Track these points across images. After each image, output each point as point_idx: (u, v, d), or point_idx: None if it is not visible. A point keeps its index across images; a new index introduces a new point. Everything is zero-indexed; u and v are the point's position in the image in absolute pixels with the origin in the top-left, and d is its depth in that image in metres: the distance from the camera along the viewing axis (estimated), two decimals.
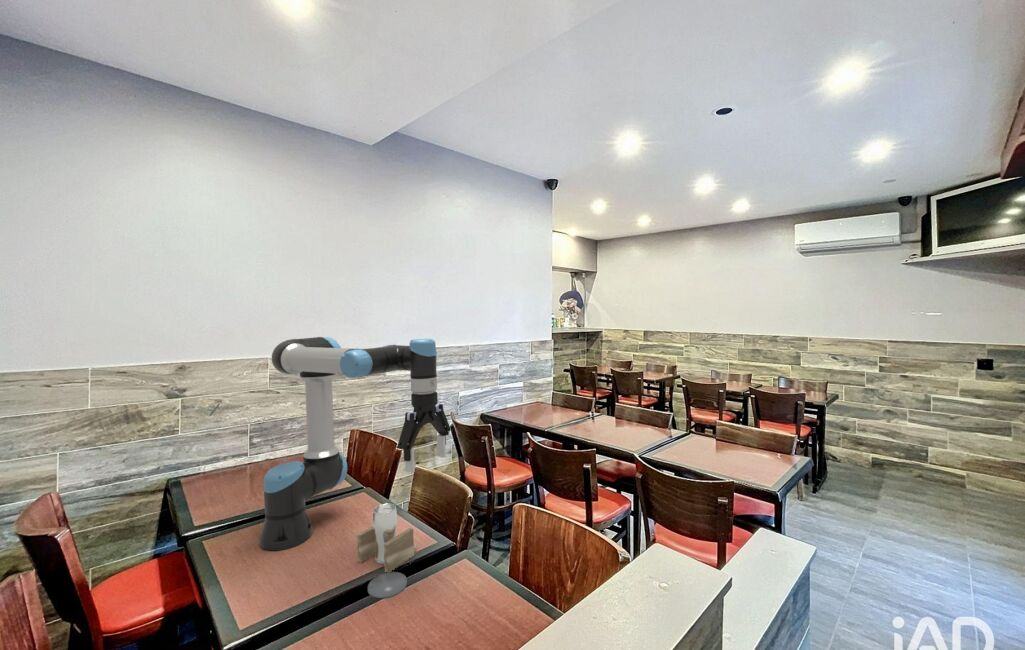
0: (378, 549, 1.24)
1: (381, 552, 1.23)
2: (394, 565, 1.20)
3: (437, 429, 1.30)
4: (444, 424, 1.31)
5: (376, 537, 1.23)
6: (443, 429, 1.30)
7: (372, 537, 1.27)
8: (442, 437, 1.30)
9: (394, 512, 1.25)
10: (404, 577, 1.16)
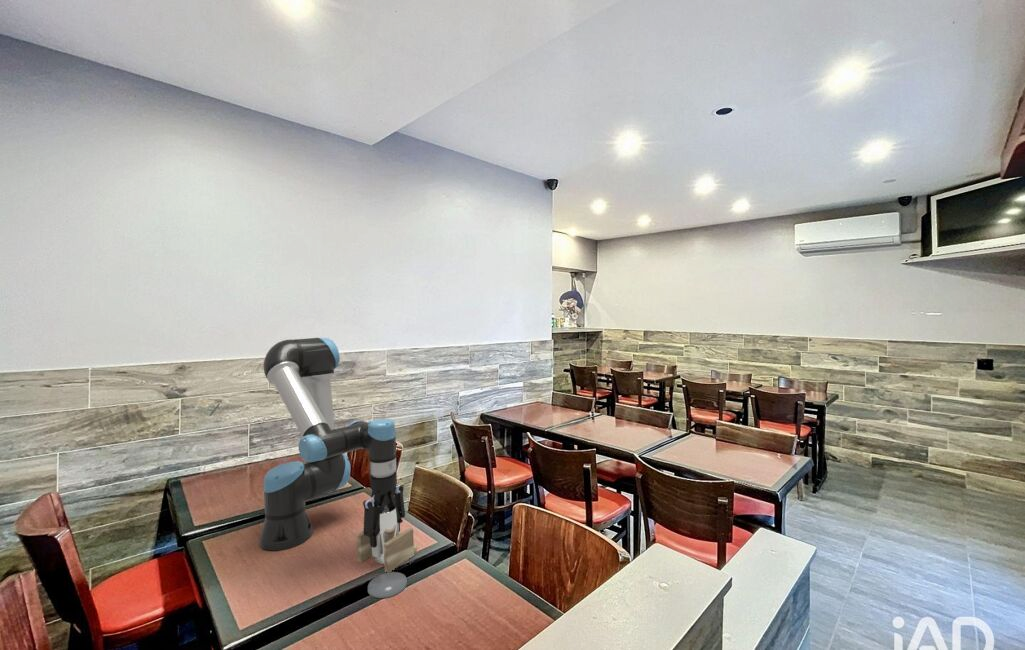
0: None
1: (381, 552, 1.23)
2: (394, 565, 1.20)
3: None
4: (400, 508, 1.30)
5: None
6: (398, 515, 1.29)
7: None
8: None
9: (394, 512, 1.25)
10: (404, 577, 1.16)
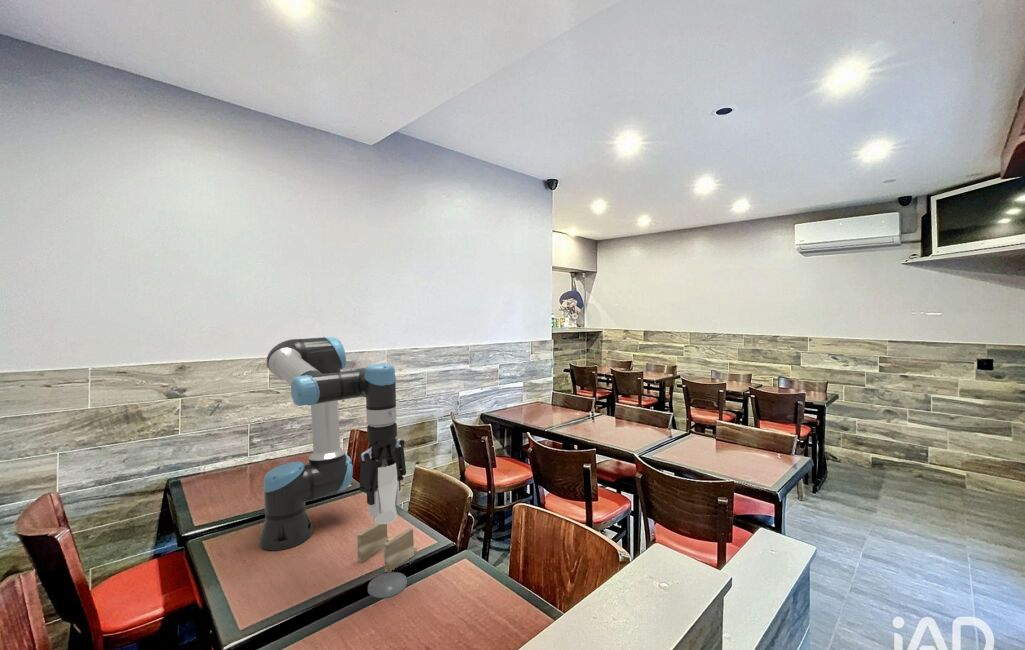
0: None
1: (380, 511, 1.10)
2: (394, 565, 1.20)
3: None
4: (400, 465, 1.17)
5: None
6: (398, 472, 1.15)
7: (372, 537, 1.27)
8: None
9: (394, 467, 1.11)
10: (404, 577, 1.16)
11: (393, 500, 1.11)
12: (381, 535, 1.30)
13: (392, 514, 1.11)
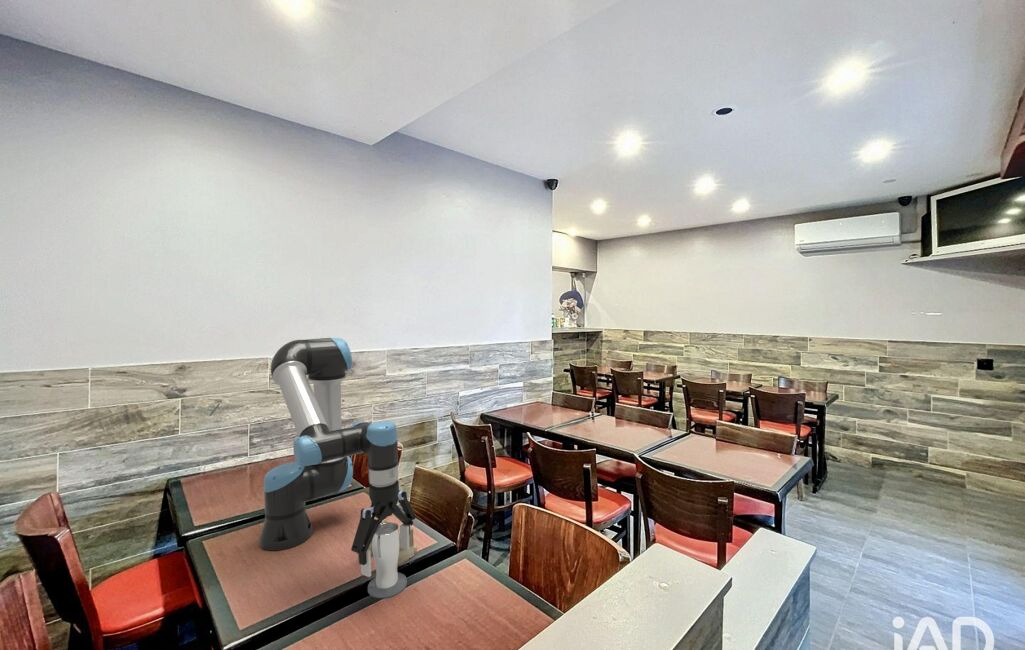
0: (378, 574, 1.11)
1: (382, 577, 1.11)
2: None
3: (400, 519, 1.18)
4: (408, 512, 1.19)
5: (376, 560, 1.10)
6: (407, 519, 1.18)
7: None
8: (405, 528, 1.18)
9: (396, 532, 1.12)
10: (404, 577, 1.16)
11: (395, 565, 1.12)
12: None
13: (394, 579, 1.12)
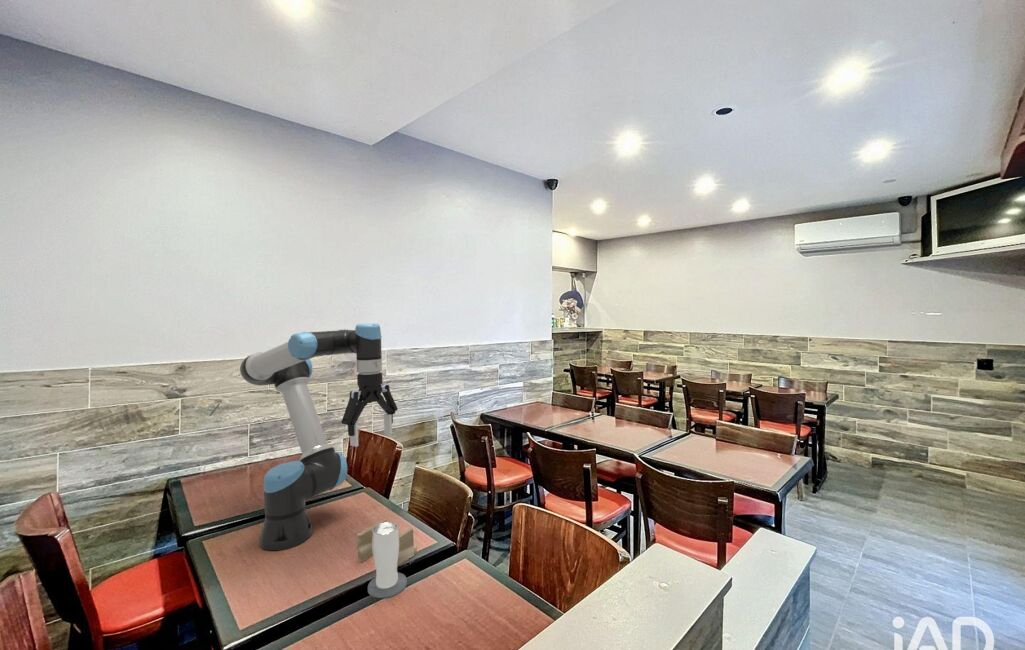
0: (378, 574, 1.11)
1: (382, 577, 1.11)
2: None
3: (384, 408, 1.39)
4: (391, 404, 1.40)
5: (376, 560, 1.10)
6: (390, 408, 1.39)
7: None
8: (388, 416, 1.39)
9: (396, 532, 1.12)
10: (404, 577, 1.16)
11: (395, 565, 1.12)
12: None
13: (394, 579, 1.12)
